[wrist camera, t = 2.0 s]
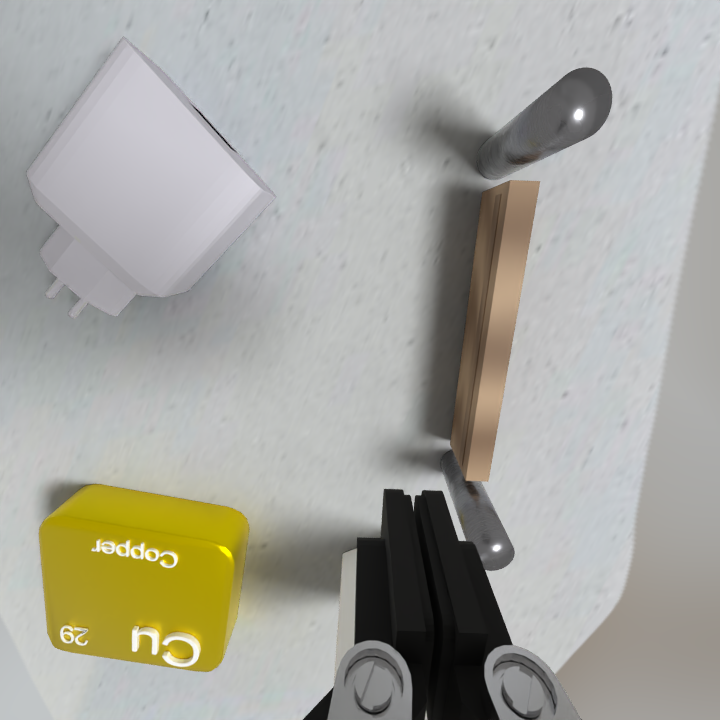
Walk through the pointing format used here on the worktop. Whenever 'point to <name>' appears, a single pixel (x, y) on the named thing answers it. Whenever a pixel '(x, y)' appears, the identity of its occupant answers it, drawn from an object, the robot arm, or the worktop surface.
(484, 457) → the gate
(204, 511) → the element tile
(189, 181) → the charger
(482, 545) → the latch post
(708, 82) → the worktop surface
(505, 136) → the hinge post
